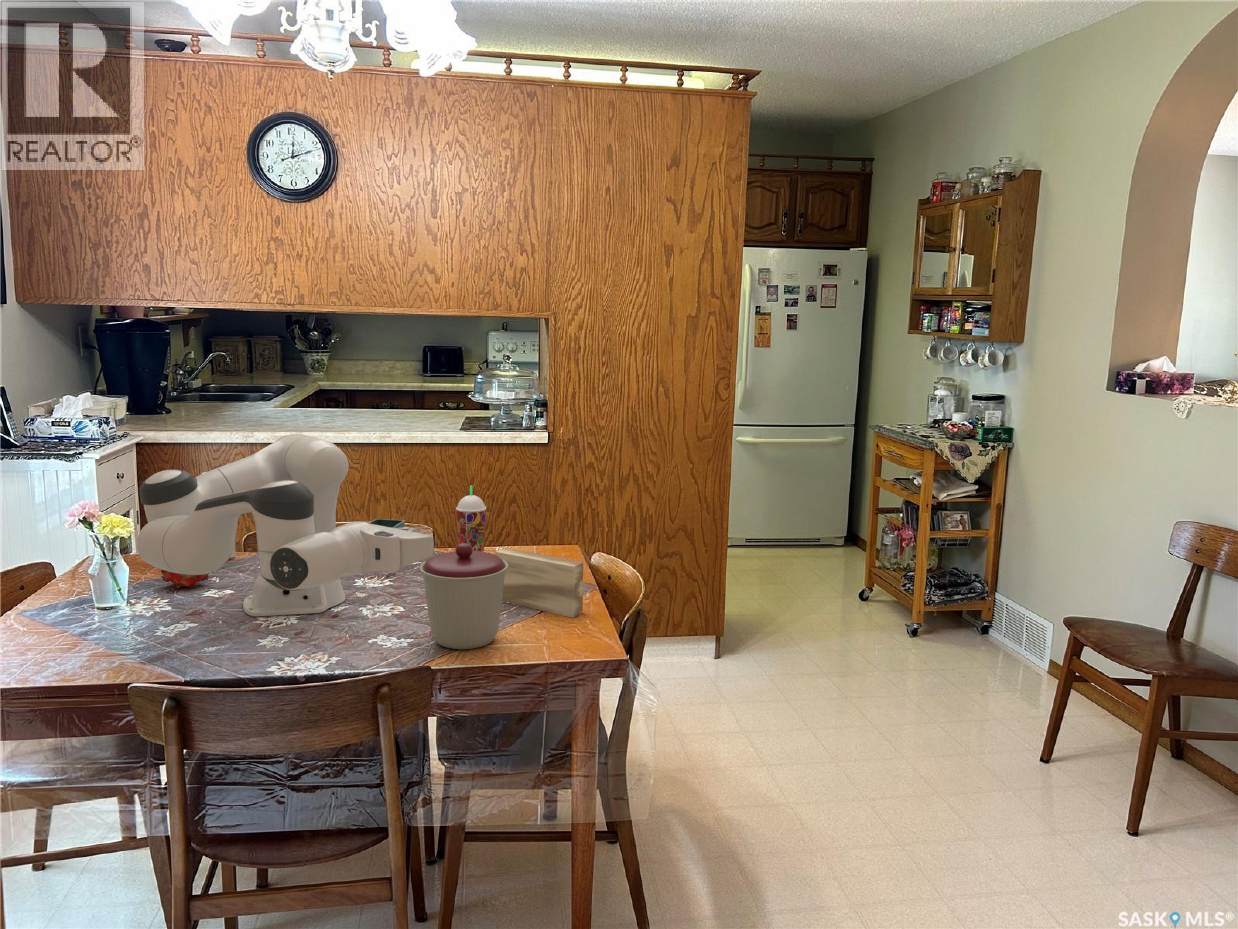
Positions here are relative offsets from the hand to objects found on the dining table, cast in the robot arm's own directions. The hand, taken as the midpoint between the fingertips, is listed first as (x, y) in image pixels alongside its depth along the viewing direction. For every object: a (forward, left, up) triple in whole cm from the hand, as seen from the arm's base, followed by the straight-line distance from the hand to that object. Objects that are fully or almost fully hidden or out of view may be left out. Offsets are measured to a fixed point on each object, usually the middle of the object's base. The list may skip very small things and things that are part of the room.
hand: (412, 531), depth 175 cm
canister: (+12, +9, -27) cm, 31 cm away
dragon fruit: (-41, +70, -27) cm, 85 cm away
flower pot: (+9, +82, -27) cm, 87 cm away
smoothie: (+31, +72, -27) cm, 83 cm away
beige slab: (+34, +24, -27) cm, 50 cm away
